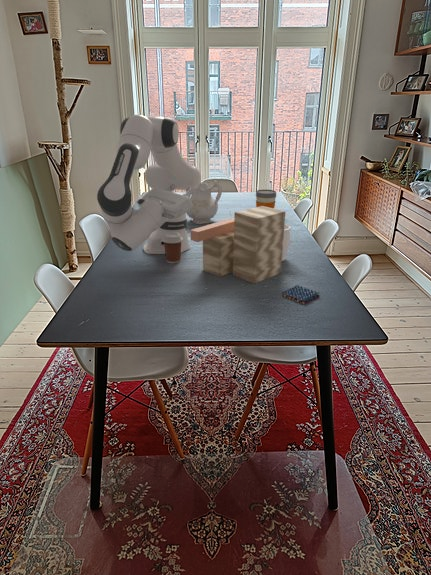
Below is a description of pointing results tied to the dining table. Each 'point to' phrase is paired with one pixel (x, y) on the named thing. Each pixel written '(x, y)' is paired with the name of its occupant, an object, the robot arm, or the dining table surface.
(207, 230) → the rod
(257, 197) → the reusable coffee cup
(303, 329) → the dining table surface
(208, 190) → the ceramic pitcher
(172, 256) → the coffee cup
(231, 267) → the base block
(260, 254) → the stand
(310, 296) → the woven mat
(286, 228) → the jar
